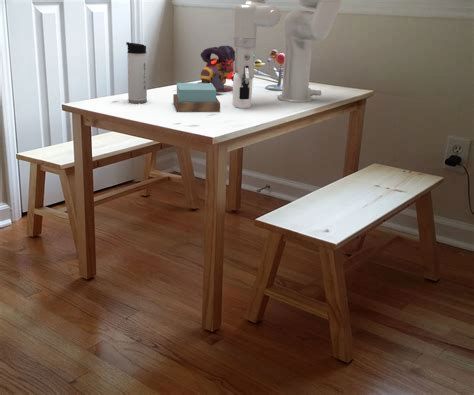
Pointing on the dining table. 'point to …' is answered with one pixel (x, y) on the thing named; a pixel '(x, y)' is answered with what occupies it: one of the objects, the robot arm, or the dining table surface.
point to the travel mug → (137, 73)
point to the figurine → (218, 67)
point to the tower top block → (196, 92)
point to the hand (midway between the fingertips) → (242, 96)
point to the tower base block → (195, 106)
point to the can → (236, 93)
